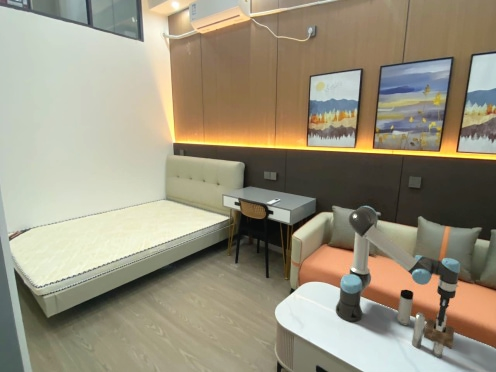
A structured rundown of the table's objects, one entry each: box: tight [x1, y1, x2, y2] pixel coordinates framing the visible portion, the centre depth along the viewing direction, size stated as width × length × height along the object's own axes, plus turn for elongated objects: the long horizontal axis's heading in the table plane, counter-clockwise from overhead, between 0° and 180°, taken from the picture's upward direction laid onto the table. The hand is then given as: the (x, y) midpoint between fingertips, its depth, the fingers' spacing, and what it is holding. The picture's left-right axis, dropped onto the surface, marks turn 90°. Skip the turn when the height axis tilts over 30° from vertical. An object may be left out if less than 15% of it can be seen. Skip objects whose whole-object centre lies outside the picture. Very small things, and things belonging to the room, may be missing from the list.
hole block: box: [423, 317, 456, 350], centre depth 143 cm, size 12×10×6 cm
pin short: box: [431, 341, 445, 359], centre depth 132 cm, size 4×4×6 cm
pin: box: [435, 312, 448, 332], centre depth 142 cm, size 4×4×14 cm
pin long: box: [411, 312, 426, 349], centre depth 136 cm, size 4×4×18 cm
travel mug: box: [396, 289, 414, 326], centre depth 153 cm, size 6×7×20 cm
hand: (440, 323), depth 141 cm, fingers open, 13 cm apart
